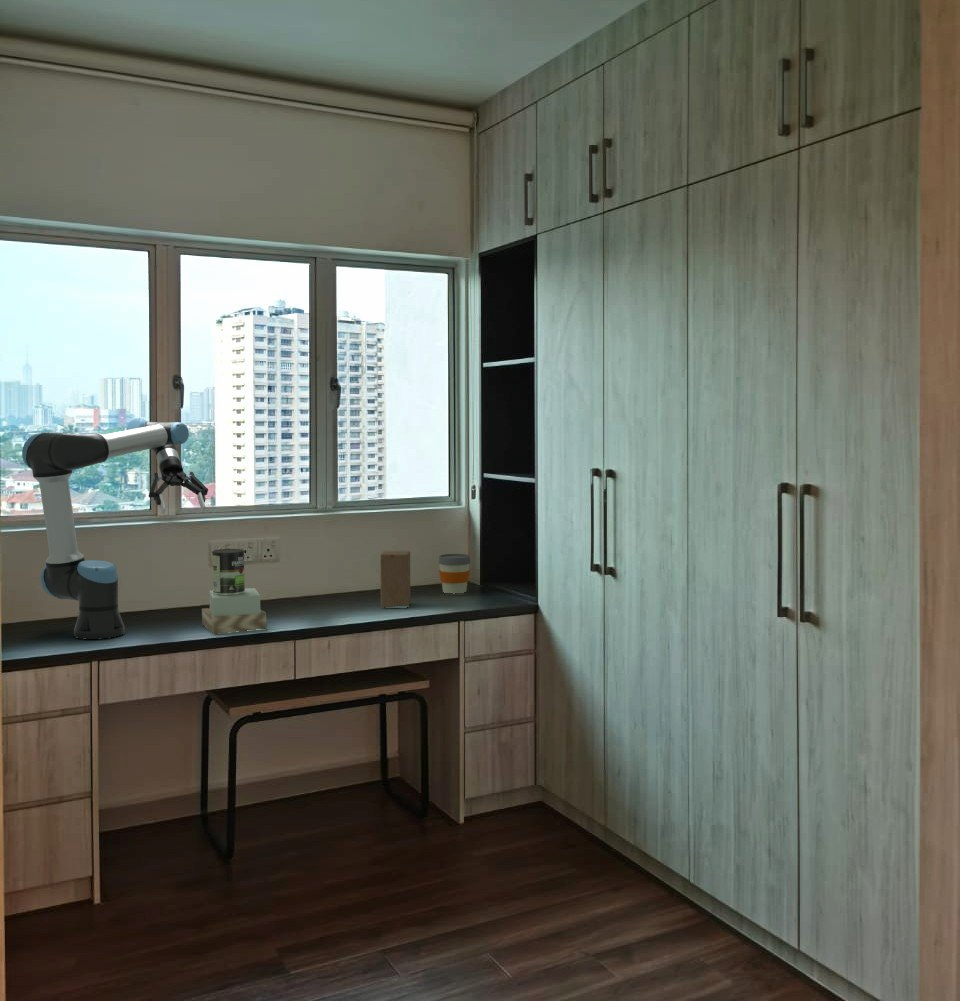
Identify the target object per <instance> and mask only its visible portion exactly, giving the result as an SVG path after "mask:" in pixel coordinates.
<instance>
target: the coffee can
mask: <svg viewBox="0 0 960 1001" xmlns="http://www.w3.org/2000/svg"><path fill="white" fill-rule="evenodd" d="M211 554H212V581H213V582H212V590H213V594H215V595H239V594H243V593H245V589H246V587H245V586H246V584H245V550H244V549H240V548H222V549H214V550H212V551H211Z"/></svg>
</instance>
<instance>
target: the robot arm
mask: <svg viewBox="0 0 960 1001" xmlns="http://www.w3.org/2000/svg"><path fill="white" fill-rule="evenodd" d="M189 435H190V434H189V428H188V426H187V425H186V424H185V423H183V422H178V421H173V422H171V421H170V422H169V421H168V422H159V421H157V422H156V421H146V420H145V419H143V418H141V417H134V418H132V419H131V420H130V421H129V422H128V423H127V426H126V430H121V431H116V432H111V433H106V434H102V433H99V432H92V433H72V432H71V433H70V432H63V433H62V432H39V433H35V434H32V435H31V436H29V437H28V438H27V439H26V441H25V442H24V444H23V446H22V450H21V451H22V452H21V457H22V461H23V463H24V464H25V465H26V466H27V467H28V468H29V469H31V470H32V471H31V472H32V477H33V479H35V480H37V482H38V483H39V490H40V494H41V495H40V497H41V503H42V504H41V505H42V510H43V516H44V524H45V530H46V531H45V532H46V538H47V539H46V540H47V544H48V545H47V546H48V551H49V555H48V557H47V558H46V559H45V566H44V567H43V569H42V571H41V573H40V584H41V586H42V589H43V591H45V593H46V594H48V595H49V596H51V597H53V598H57V599H60V600H70V601H78V610H79V611H78V616H77V619H76V622H75V626H74V629H73V636H75V637H78V638H86V639H98V640H100V639H99V638H108V639H110V638H109V637H114V638H116V637H115V636H118V637H120V636H119V635H121V636H123V635H125V633H126V632H125V631H126V630H125V624H124V622H123V619H122V616H121V613H120V611H119V586H118V585H119V584H118V583H119V582H118V581H119V580H118V579H119V577H118V570H117V566H116V565H115V564H114V563H112V562H109V561H106V560H97V559H94V560H92V559H90V560H86V559H85V555H84V554H83V553H82V552H80V550H79V548H78V541H77V540H78V539H77V533H76V527H75V526H76V525H75V519H74V518H75V517H74V511H73V505H72V504H73V503H72V497H71V489H70V481H69V478H70V477H71V476H72V474H73V470H79V469H84V468H85V467H87V468H88V467H89V466H90V467H91V466H95V465H99V464H102V463H105V462H106V461H107V460H108V459H111V458H114V457H119V456H124V455H129V454H132V453H138V452H142V451H147V450H151V451H153V453H154V455H155V458H156V461H157V465H158V468H159V471H160V474H158V473H157V472H154V475H153V477H152V481H153V482H152V484H151V487H150V489H149V491H148V498H153V500H154V501H155V503H156V505H157V506H160V510H161V514H162V515H165V512H166V510H167V507H166V503H165V500H164V498H163V492H164V491H165V490H166V489H167V488H168V487H169V486H171V487H175V486H177V487H179V486H181V487H183V488H186V489H188V490H189V491H190V492H192V493H194V494H195V495H197V501H198V504H199V507H200V510H201V512H205V510H206V500H207V498H206V496H207V495H208V493H209V489H208V488H207V486H206V485H204V484H203V482H201V481H200V480H199V479H198V477H197V476H196V475H195V473H194V471H190V472H189V473H185V472H184V467H183V466H182V462H181V458H180V455H179V451H178V450H177V447H176V446H177V445H183V444H185V443H186V442H188V439H189ZM161 480H162V484H161V485H160V486H159V488H157V490H156V491H155V489H156V487H157V484H158V482H159V481H161ZM122 634H123V635H122ZM75 637H74V638H75Z"/></svg>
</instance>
